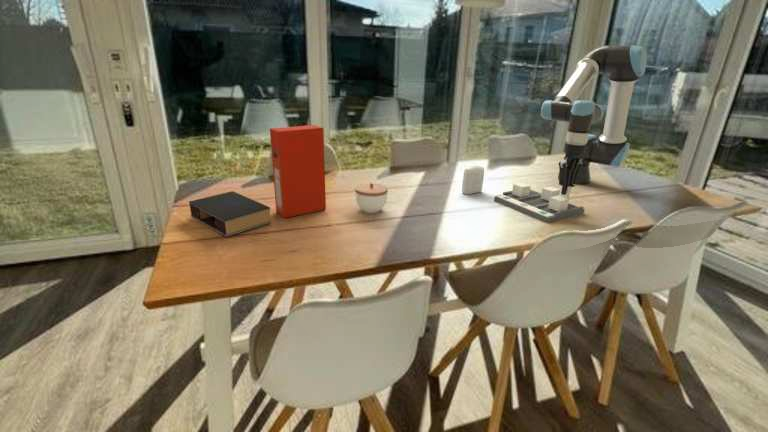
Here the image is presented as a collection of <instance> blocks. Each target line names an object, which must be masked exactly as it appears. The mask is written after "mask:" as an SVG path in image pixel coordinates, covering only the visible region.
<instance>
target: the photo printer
mask: <svg viewBox="0 0 768 432" xmlns="http://www.w3.org/2000/svg"><path fill="white" fill-rule="evenodd" d="M484 175H485V168H484V167H483V166H481V165H471V166H468V167H467V168H465V169H464V170H463V179H462V185H461V186H462V187H461V192H462V194H463V195H471V194H476V193H481V192H482V191H483V184H484Z"/></svg>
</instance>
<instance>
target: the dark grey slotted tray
mask: <svg viewBox="0 0 768 432" xmlns="http://www.w3.org/2000/svg"><path fill="white" fill-rule="evenodd" d="M541 194H542V192H538V191H535V190H533V189H530V192H529V196H525V197H518V196H516V195H513V194H512V190H508V191H503V193H502V194H499V195H495V196H494V197H493V201H494V202H496V203H499V204H501V205H503V206H506V207H508V208H511V209H513V210H516V211H518V212H521V214H525V215H526V216H529V217H532V218H534V219H537V220H539V221H541V222H543V223H547V224H549V223H553V222H557V221H558V222H559V221H561V220H565V219H568V218H571V217H572V218H573V217H576V216H580V215H583V214H584V213H585V209H586V208H584V206H577V205H576V204H575V205H574V204H572V203H569V202H568V206H567V210H564V211H560V212H557V211H555V210H552V209H549V208H548V205H549V201H547V200H544V199H542V198H541Z"/></svg>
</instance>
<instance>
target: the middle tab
mask: <svg viewBox="0 0 768 432" xmlns="http://www.w3.org/2000/svg"><path fill="white" fill-rule="evenodd" d="M560 195H561V189H559V188H556V187H554V186H547V187H542V189H541V198H542V199H544V200H547V201H549V199H550V197H553V196H560Z"/></svg>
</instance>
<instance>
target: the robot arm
mask: <svg viewBox="0 0 768 432" xmlns="http://www.w3.org/2000/svg"><path fill="white" fill-rule="evenodd" d="M647 52H648V51H647V50H646V48H645V47H644V46H639V45H603V46H599V47H596V48H594V49H592V50H591V51H589V52H587V53H586V54H585V55H583V56H582V57H581V58H580V59H579V61H578V62H577V64H576V66H575V70H574V71H573V73H572V74H571V76H570V77H569V78H568V79H567V82H566V83H565V84H564V85H563V86H562V88H561V89H560V91H559V92H558V93H557V95H556V96H555V97H554V99H553V100H552V99H549V100H548V99H546V100H545V101H543V103H542V105H541V109H540V116H541V118H542V119H544V120H550V121H556V122H567V123H568V127H567V132H566V137H565V143H564V148H563V153H564V154H565V155H564V157H563V160H562V161H559V162H558V167H559V171H558V174H557V179H558V185H559V186H561V190H560V196H561V197H564V198H567V199H569V200H570V193H571V191H572V188H574V187H575V186H576V185H580V184H581V185H585V184H589V183H590V182H591V174H590V173H591V172H590V164H591V163H593V164H597V165H603V166H608V167H614V168H617V167H620V166H621V165H622V164H623V163H624V162H625V160H626V158H627V155H628V154H629V153H628V152H629V150H630V145H631V144H630V143H629V142H627V140H628V139H627V137H626V136H625V131H626V130H625V129H626V125H627V119H628V115H629V110H630V104H631V99H632V95H633V89H634V84H635V83H636V82H638V81H639V80H640V79H639V78H640V77H642V76H643V75H644V74H645V72H646V69H647V63H648V53H647ZM597 75H608V81H609V83H611V85H610V91H609V94H608V95H609V97H608V102H607V108H606V113H605V119H604V125H603V126H604V127H603V132H602V134H601V135H599V136H598V138H597V135H595V134H591V133H590V131H591V126H592V125H595V124H597V123H598V122H600V121H601V120H602V118H603V116H604V109H603V107H602V105H599V104H597V103H596V102H595V101H593V100H582V99H581V100H579V99H578V98H579V96H580V95H581V94H582V93H583V91H584V90H585V88H586V86H588V84H589V82H590V81H591V79H593V78H595V77H596V76H597ZM577 99H578V100H577Z"/></svg>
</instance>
